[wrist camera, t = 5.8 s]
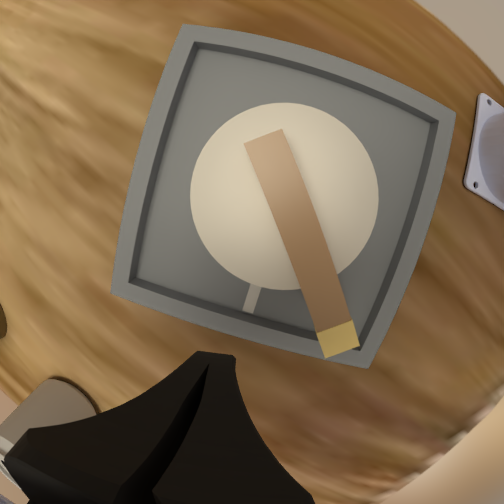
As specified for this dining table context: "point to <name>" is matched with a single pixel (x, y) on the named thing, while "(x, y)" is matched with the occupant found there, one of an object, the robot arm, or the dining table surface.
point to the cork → (2, 323)
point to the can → (43, 414)
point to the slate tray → (218, 113)
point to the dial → (288, 207)
